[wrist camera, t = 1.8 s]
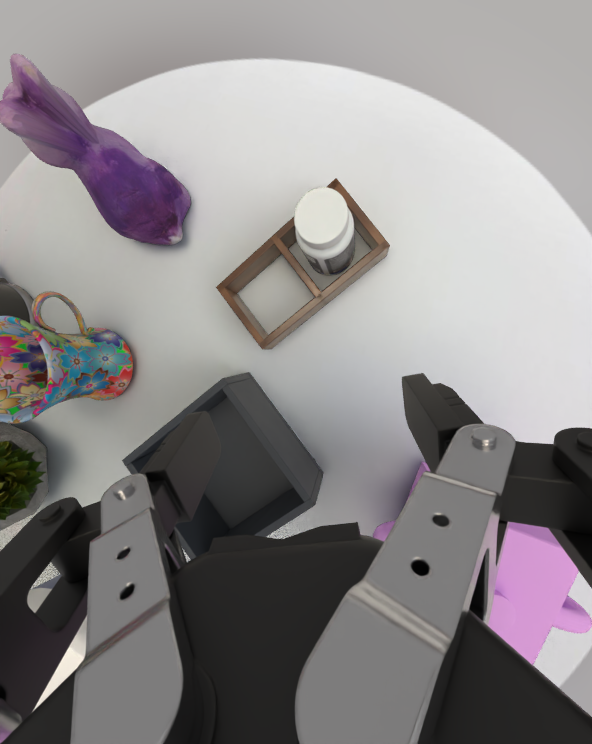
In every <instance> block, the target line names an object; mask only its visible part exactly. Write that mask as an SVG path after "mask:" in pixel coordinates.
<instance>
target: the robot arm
mask: <svg viewBox="0 0 592 744" xmlns="http://www.w3.org/2000/svg"><path fill="white" fill-rule="evenodd" d="M32 304H33V300H32V298H31V297H30V295H29V294H28V293H27V292H26V291H25V290H23V289H22V288H20V287H18V286H16V285H12V284H9V283H8V282H7V281H6V279H4V278H0V316H13V317H17V318H20V319H22V320H25V321H26V322H28V323H30V324H32V325H34V326H37V327H39V325H38V324H37V323H36V322H35V320H34V318H33V316H32V310H31V309H32ZM402 388H403V398H404V408H405V416H406V420H407V424H408V426H409V429H410V431H411V433H412V435H413V437H414V439H415V441H416V443H417V445H418V447H419V449H420V451H421V453H422V455H423V457H424V459H425V461H426V463H427V465H428V467H429V469H430V471H431V472H430V471H425V472H424V473H423V474H422V476H421V477H420V479H419V481H418V482H417V484H416V486H415V488H414V490H413V491H412V493H411V495H410V497H409V498H408V500H407V502H406V504H405V506H404V507H403V509H402V511H401V513H400V514H399V516H398V518H397V520H396V522H395V523H394V525H393V527H392V529H391V530H390V532H389V534H388V536H387V538H386V539H385V541H382V540H379V539H376V538H373V537H369V536H363V535H360V531H359V526H358V522H356V523H346V524H337V525H328V526H320V527H317V528H314V529H311V530H308V531H305V532H303V533H300V534H297V535H294V536H291V537H288V538H285V539H274V538H267V537H261V536H255V535H248V534H245V535H235V536H226V537H217V538H213V540H212V543H211V546H210V549H209V552H206V553H204V554H201V555H199V556H197V557H195V558H194V559H192V560H190V561H189V562H186V559H185V556H184V552H183V549H182V546H181V543H180V540H179V537H178V534H177V532H176V531H175V529H174V527H175V525H176V523H180V522H189V521H191V520H192V518H193V516H194V514H195V511H196V509H197V507H198V505H199V502H200V500H201V498H202V495H203V493H204V491H205V489H206V486H207V484H208V482H209V480H210V477H211V475H212V473H213V471H214V468H215V466H216V464H217V462H218V459H219V457H220V454H221V443H220V440H219V437H218V435H217V432H216V430H215V427H214V425H213V422H212V420H211V417H210V415H209V413H208V412H206V411H202V412H196V413H191V414H187V415H186V417H185V418H184V419H183V421H182V422H181V423H180V425H179V426H178V427H177V428H176V429H175V430H174V431H172V432H171V433H170V434H169V435H167V437H166V438H165V439H164V441H163V442H162V443H161V445H160V446H159V447H158V449H157V450H156V453H154V454H153V455H152V456H151V458H150V459H149V460H148V462H147V463H146V464H145V466H144V467H143V468H142V470H141V471H140V472H139V474H133V475H130V476H127V477H125V478H123V479H121V480H119V481H118V482H116V483H115V484H113V485H112V486H111V487H110V488H109V489H108V490H107V491H106V492H105V493H104V494H103V496H102V498H101V501H99V502H97V503H94V504H91V505H88V506H86V507H83V508H82V507H81V505H80V504H79V502H78V501H77V499H75V498H73V497H69V498H64V499H61V500H59V501H56V502H54V503H52V504H51V505H49V506H47V507H46V508H44V509H43V510H41V511H40V512H39V513H38V514H36V515H35V516H34V517H33V518H32V519H31V520H30V521H29V522H28V523H27V524H26V525H25V526H24V527H23V528H22V529H21V531H20V532H19V533H18V534H17V535H16V536H15V537H14V538H13V539H12V540H11V541H10V542H9V543H8V544H7V545H6V546H5V547H4V548H3V549H2V550H1V551H0V744H592V717H591V716H590V715H589V714H588V713H586V712H585V711H584V710H583V709H582V708H581V707H580V706H579V705H577V704H576V703H575V702H574V701H573V700H572V699H571V698H569V697H568V696H567V695H566V694H565V693H564V692H562V691H561V690H560V689H559V688H558V687H557V686H556V685H555V684H553V683H552V682H551V681H550V680H549V679H548V678H547V677H546V676H544V675H543V674H542V673H541V672H540V671H539V670H538V669H536V668H535V667H534V666H533V665H532V664H531V663H530V662H528V661H527V660H526V659H525V658H524V657H523V656H522V655H521V654H519V653H518V652H517V651H516V650H515V649H514V648H513V647H511V646H510V645H509V644H508V643H507V642H506V641H505V640H503V639H502V638H501V637H500V636H499V635H498V634H497V633H496V632H494V631H493V630H492V629H491V628H490V627H489V626H488V624H489V620H490V615H491V610H492V605H493V599H494V592H495V585H496V579H497V574H498V570H499V566H500V562H501V557H502V553H503V549H504V545H505V540H506V536H507V532H508V528H509V524H510V522H514V523H520V524H526V525H533V526H539V527H545V528H548V529H549V530H550V531H551V533H552V534H553V536H554V537H555V538H556V540H557V541H558V542H559V544H560V545H561V547H562V548H563V549H564V551H565V552H566V553H567V555H568V556H569V558H570V559H571V560H572V562H573V563H574V565H575V566H576V567H577V569H578V570H579V571H580V573H581V574H582V576H583V577H584V578H585V580H586V581H587V582H588V584H589V585H590V587H591V588H592V429H590V428H569V429H565V430H562V431H560V432H558V433H557V434H556V435H555V438H554V444H539V443H525V442H518V441H515V439H514V438H513V436H512V435H511V434H510V433H508V432H507V431H505V430H504V429H501V428H499V427H496V426H492V425H487V424H484V423H483V422H482V421H481V420H480V418H479V417H478V416H477V415H476V414H475V413H474V412H473V411H472V410H471V409H470V408H469V406H468V405H467V404H465V402H464V401H463V400H462V399H461V398H459V396H458V394H457V393H456V392H455V391H454V390H453V389H452V388H450V387H448V386H445V385H443V384H441V383H438V384H431V382H430V381H429V380H428V379H427V377H426V376H425V375H424V374H423V373H421V374H415V375H409V376H404V377H402ZM50 562H51V563H52V564H53V565H54V566H55V567H56V569H57V570H58V571H59V572H60V574H61V575H62V576H61V577H60V579H59V580H58V581H57V583H56V584H55V586H54V587H53V588H52V590H51V591H50V593H49V594H48V596H47V597H46V598H45V600H44V601H43V603H42V604H41V605H40V607H39V608H38V610H37V611H36V612H35V613H34V612H33V611H32V610H31V609H30V607H29V606H28V603H27V597H28V593H29V590H30V588H31V587H32V585H33V584H34V582H35V581H36V580H37V578H38V577H39V576H40V575H41V573H42V572H43V571H44V569H45V568H46V567H47V566H48V564H49V563H50ZM86 616H87V630H86V653H85V657H84V659H83V661H82V662H81V663H80V664H79V666H78V668H77V669H76V670H74V671H73V672H72V673H71V674H70V675H69V676H68V677H67V678H66V679H65V680H64V681H63V682H62V683H61V684H60V685H59V686H58V687H57V688H56V689H55V690H54V691H53V692H52V693H51V694H50V695H49V696H48V697H47V698H46V699H45V700H44V701H43V702H42V703H41V704H40V705H39V706H38V707H37V708H36V709H35V710H34V708H35V706H36V705H37V703H38V701H39V699H40V697H41V696H42V694H43V692H44V690H45V689H46V687H47V685H48V683H49V682H50V680H51V678H52V676H53V674H54V673H55V671H56V669H57V667H58V666H59V664H60V662H61V660H62V659H63V657H64V655H65V653H66V651H67V650H68V648H69V646H70V644H71V643H72V641H73V639H74V637H75V636H76V634H77V632H78V630H79V629H80V627H81V625H82V623H83V621H84V620H85V618H86ZM33 710H34V711H33Z"/></svg>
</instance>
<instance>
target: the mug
mask: <svg viewBox="0 0 592 744" xmlns="http://www.w3.org/2000/svg"><path fill="white" fill-rule="evenodd" d="M52 296H54V297H58V298H59V299H61V300H62V301H64V302H65V303H66V304H67V305H68V306H69V307H70V309H71V310H72V311H73V313H74V315H75V317H76V319H77V321H78V325H79V328H80V331H81V333H80V334H61V333H55V331H56V330H55V329H54V328H51V327H49V326H47V325H46V324H45V323H44V322H43V320H42V318H41V315H40V308H41V305H42V303H43V302H44V301H45V300H46V299H47V298H49V297H52ZM31 310H32V316H33V318H34V320H35V322H36V323H37V324H38V325H39V326H40V327H41V328H39V327H37V326H34V325H32V324H30V323H28V322H26V321H25V320H22V319H20V318H17V317H13V316H0V421H2V422H5V423H22V422H26V421H29V420H31V419H33V418H34V417H36V416H37V415H39V414H40V413H41V412H43V411H44V410H46V409H48V408H49V407H51V406H53V405H55V404H58V403H60V402H63V401H66V400H69V399H73V398H79V397H89V398H92V399H95V400H110V399H113V398H115V397H117V396H119V395H120V394H121V393H123V391H124V390H125V389H126V388H127V386H128V385H129V383H130V380H131V377H132V373H133V361H132V356H131V353H130V350H129V348H128V346H127V345H126V343H125V342H124V340H123V339H122V338H121V337H120V336H119V335H117V334H116V333H114V332H112V331H110V330H108V329H103V328H91V327H90V328H88V329H86V325H85V322H84V319H83V317H82V315H81V313H80V311H79V310H78V308H77V307H76V306H75V305H74V304H73V303H72V302H71V301H70V300H69V299H68V298H67V297H65V296H63V295H61V294H59V293H56V292H51V291H47V292H43V293H41V294H39V295H38V296H37V297H36V298H35V300H34V301H33V304H32V309H31ZM42 328H43V329H42ZM51 331H52V332H51Z"/></svg>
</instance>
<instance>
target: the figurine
mask: <svg viewBox="0 0 592 744" xmlns="http://www.w3.org/2000/svg"><path fill="white" fill-rule="evenodd" d="M10 63H11V71H12V77H13V82H11V83H9V84H8V86H7V87H6V89H5V91H4V94H3V99H2V100H1V101H0V123H1V124H2V125H3V126H4V127H6V128H7V129H8V130H9V131H11V132H13V133H14V134H16V135H18V136H19V137H21V139H22V140H23V142H24V143H25V144H26V145H27V146H28V148H29V149H30V150H31V151H32V152H33V153H34V154H35V155H36V156H37V157H38V158H39V159H40V160H42V161H43V162H45V163H47V164H49V165H52V166H55V167H60V168H68V169H72V170H74V171H75V173H76V174H77V175H78V177H79V178H80V180H81V181H82V183H83V184H84V186H85V187H86V189H87V190H88V192H89V194H90V195H91V197H92V199H93V201H94V203H95V205H96V207H97V208H98V210H99V212H100V213H101V215H102V216H103V218H104V219H105V221H106V222H107V223H108V224H109V225H110V227H111V228H113V229H114V230H115V231H116V232H118V233H119V234H120V235H122V236H124V237H127V238H130V239H134V240H136V241H139V242H143V243H146V242H147V243H152V244H162V245H174V244H176V243H178V242H179V241H180V240H181V239H182V237H183V233H182V223H183V220H184V218H185V215H186V213H187V211H188V209H189V208H190V204H191V200H190V196H189V193H188V191H187V190H186V189H185V187H184V186H183V185H182V184H181V183H180V182H179V181H178V180H177V179H176V178H175V177H174V176H173V175H172V174H171V173H170V172H169V171H168V170H167V169H166V168H164V167H163V166H162V165H160V164H159V163H157V162H156V161H154V160H151V159H149V158H146V157H144V156H143V155H142V154H141V153H140V152H139V151H138V150H137V149H136V148H135V147H134V146H133V145H132V144H130V143H129V142H128V141H127V140H126V139H124V138H123V137H121V136H120V135H118V134H117V133H115V132H113V131H111V130H108V129H105V128H101V127H98V126H95V125H92V124H91V123H90V122H89V120H88V119H87V117H86V116H85V114H84V112H83V111H82V109H81V108H80V106H79V105H78V104H77V102H76V101H75V100H74V99H73V98H72V97H71V96H70V95H69V94H67V93H66V92H65V91H63V90H62V89H60V88H58V87H56V86H54V85H51V84H50V82H49V81H48V80H47V79H46V78H45V77H44V75H43V74H42V73H41V72H40V71H39V70H38V68H37V67H36V66H35V65H34V64H33V63H32V62H31V61H30V60H29V59H28V58H26V57H25V56H23V55H20V54H13V55H12V56H11V59H10Z"/></svg>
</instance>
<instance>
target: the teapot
mask: <svg viewBox="0 0 592 744" xmlns="http://www.w3.org/2000/svg"><path fill="white" fill-rule="evenodd" d="M425 471H430V469H429V467H428V465H427V463H425V462H422V463H421V465H420V468H419V470H418V473H417V475H416V478H415V481H414V483H413V486H412V488H411V491H410V494H409V496H408V498H409V497H410V495H411V493H412V491H413V490H414V488H415V486H416V484H417V482H418V481H419V479H420V477H421V476H422V474H423V473H424V472H425ZM430 472H431V471H430ZM407 500H408V499H407ZM406 502H407V501H406ZM395 522H396V521H390V522H386V523H383V524H381V525H379V526H378V527H377V528H376V529H375V531H374V533H373V538H376V539H379V540H382V541H385V539H386V538H387V536H388V534H389V532H390V530H391V529H392V527H393V525H394V523H395ZM578 571H579V570H578V569H577V567H576V566H575V565H574V563H573V562H572V560H571V559H570V558H569V556H568V555H567V553H566V552H565V551H564V549H563V548H562V547H561V545H560V544H559V542H558V541H557V540H556V538H555V537H554V536H553V534H552V533H551V531H550V530H549V529H548V528H545V527H539V526H533V525H526V524H520V523H514V522H510V524H509V528H508V532H507V536H506V540H505V545H504V549H503V553H502V557H501V562H500V566H499V570H498V574H497V579H496V585H495V592H494V599H493V605H492V610H491V615H490V620H489V624H488V626H489V627H490V628H491V629H492V630H493V631H494V632H496V633H497V634H498V635H499V636H500V637H501V638H502V639H503V640H505V641H506V642H507V643H508V644H509V645H510V646H511V647H513V648H514V649H515V650H516V651H517V652H518V653H519V654H521V655H522V656H523V657H524V658H525V659H526V660H527V661H528V662H530V663H531V664H532V665H533V664H534V662H535V660H536V658H537V656H538V654H539V652H540V650H541V648H542V646H543V644H544V642H545V640H546V638H547V636H548V634H549V632H550V630H551V628H552V626H553V627H556V628H558V629H562V630H565V631H568V632H573V633H586V632H588V631H589V630H590V628H591V626H592V620H591V618H590V616H589V614H588V613H587V612H586V611H585V610H584V609H583V608H582V607H581V606H580V605H579V604H578V603H577V602H575V601H574V600H573V599H572V598H570V597H569V596H568V593H569V591H570V588H571V586H572V584H573V582H574V580H575V578H576V576H577V574H578Z"/></svg>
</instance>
